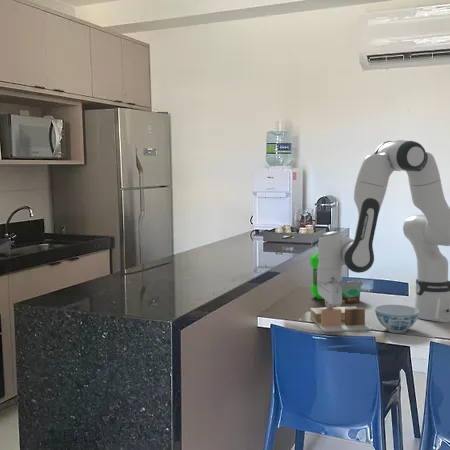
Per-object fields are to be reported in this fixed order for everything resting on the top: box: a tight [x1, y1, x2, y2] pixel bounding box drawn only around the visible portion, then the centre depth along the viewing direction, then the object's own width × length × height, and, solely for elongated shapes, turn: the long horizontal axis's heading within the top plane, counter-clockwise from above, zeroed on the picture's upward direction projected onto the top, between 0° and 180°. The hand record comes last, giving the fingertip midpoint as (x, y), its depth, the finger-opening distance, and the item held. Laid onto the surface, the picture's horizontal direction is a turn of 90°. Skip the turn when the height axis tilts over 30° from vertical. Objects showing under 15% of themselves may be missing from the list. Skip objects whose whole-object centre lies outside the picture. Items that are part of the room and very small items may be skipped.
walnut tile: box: [345, 307, 366, 326], centre depth 202 cm, size 7×6×2 cm
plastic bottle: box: [309, 242, 325, 300], centre depth 247 cm, size 10×10×25 cm
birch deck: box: [309, 305, 358, 324], centre depth 210 cm, size 18×9×4 cm, turn 96°
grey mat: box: [315, 322, 374, 333], centre depth 200 cm, size 18×10×1 cm, turn 96°
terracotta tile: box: [321, 309, 341, 326], centre depth 201 cm, size 7×6×2 cm
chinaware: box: [374, 304, 419, 334], centre depth 195 cm, size 15×15×8 cm
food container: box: [338, 278, 363, 305], centre depth 236 cm, size 12×6×10 cm, turn 114°
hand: (329, 312), depth 203 cm, fingers closed
